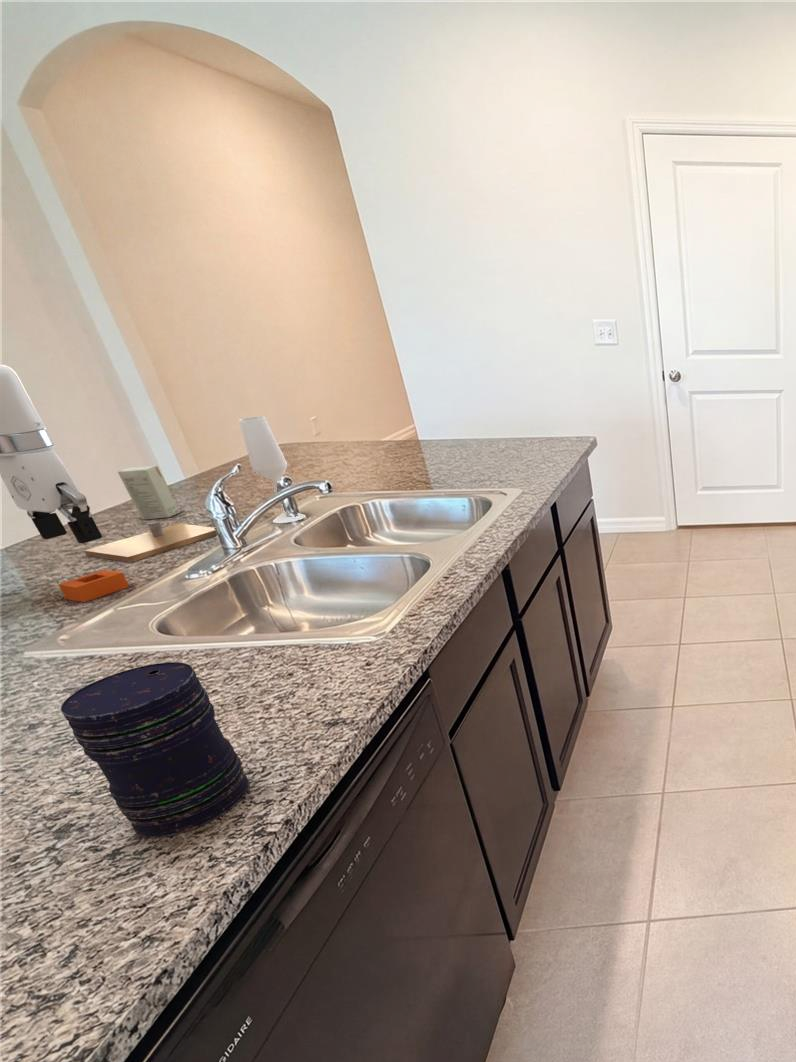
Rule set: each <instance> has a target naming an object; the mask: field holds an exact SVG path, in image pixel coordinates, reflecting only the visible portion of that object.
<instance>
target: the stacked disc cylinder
mask: <svg viewBox="0 0 796 1062" xmlns="http://www.w3.org/2000/svg"><path fill="white" fill-rule="evenodd" d="M60 705H61V706H60V712H61V714H62V715H63V717H64V719H65V720H66V721H68V725H69V727H70V728H71V730H72V735H73V737H74V738H75V739H76V741H77V743H78V744H79V746H81V747H82V748H83V753H84V755H85V756H86V757H88V758H89V760H91V761H92V762H95V763H96V764H97V765H98V767H99V769H100V770H101V771H102V774H103V775H104V777H105V779H106V780H107V782H108V783H109V785H108V791H109V793H110V794H111V797H112V800H114V801H115V805H116V806H117V807H118V810H119V812H121V814H122V815H123V816H125V817H126V819H127V820H128V821H129V822H130V823H131V827H132V829H133V830H134V832H135V834H137V835H138V836H142V837H144V838H155V839H156V838H165V837H170V836H171V837H172V836H176V835H179V834H182V833H183V834H184V833H186V832H189V831H192V830H194V829H197V828H199V827H201V826H204V825H206V824H209V823H210V822H212V821H215V820H216V819H218V818H219V817H221V816H223V815H224V814H226V813H228V812H229V811H230V810H232V809H233V808H235V806H237V805H238V804H239V803H240V802H241V801H242V799H243V798H244V797H245V796H246V795H247V793H248V791H249V789H250V781H249V779H248V776H247V775H246V774H245V771H244V769H243V766H242V761H241V760H240V757H239V756H238V753H236V751H235V750H234V746H233V745H232V742H231V741H230V740H229V739H228V738H225V736H224V734H223V733H222V731H221V728H220V727H219V724H218V722H217V720H216V717H215V716H216V713H215V707H214V704H213V703H212V702H211V701H210V697H209V695H208V693H207V691H206V689H205V687H204V686H203V685H202V682H200V679H198V677H197V673H196V671H195V669H194V667H193V666H192V665H191V664H188V663H185V662H179V661H178V662H177V661H176V662H175V661H167V662H159V663H151V664H147V665H141V666H137V667H133V668H129V669H125V670H123V671H120V672H116V673H114V674H111V675H108V676H106V677H103V678H101V679H98V680H95V681H93V682H91V683H89V684H87V685H86V686H83V687H82V688H80V689H78V690H76V691H75V692H74V693H72V694H71V695H69V696H68V697H66V699H65V700H64V701H63V702H62V704H60Z"/></svg>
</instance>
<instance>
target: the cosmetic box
mask: <svg viewBox="0 0 796 1062" xmlns="http://www.w3.org/2000/svg"><path fill="white" fill-rule="evenodd" d="M117 474H118V476H119V477H120V479H121V481H122V483H123V485H124V488H125V490H126V491H127V493H128V495H129V497H130V499H131V501H132V503H133V505H134V506H135V509H136V511H137V512H138V515H139V516H140V518H141V520H153V519H155V520H156V519H165V518H170V517H173V516H175V515H178V514H179V513H181V510H180V509H179V506H178V504H177V502H176V500H175V498H174V496H173V494H172V492H171V490H170V488H169V485H168V484H167V482H166V480H165V478H164V476H163V474H162V472H161V469H160V468H159V465H145V466H132V467H131V466H130V467H128V468H124V469H121V470H118V471H117Z"/></svg>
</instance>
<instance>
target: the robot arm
mask: <svg viewBox="0 0 796 1062" xmlns="http://www.w3.org/2000/svg"><path fill="white" fill-rule="evenodd" d="M56 448H57V446H56V444H55V442H54V440H53V439H52V437H51V435H50V433H49V430H48V429H47V428H46V426H45V423H44V422H43V420H42V418H41V416H40V415H39V413H38V410H37V409H36V407H35V405H34V403H33V401H32V400H31V398H30V396H29V394H28V392H27V390H26V387H24V385H23V382H22V381H21V379H20V377H19V375H18V374H17V372H16V371H15V370H14V369H13V368H11V367H10V366H9V365H5V364H1V363H0V477H1V479H2V481H3V482H4V485H5V487H6V489H7V491H8V493H9V494H10V496H11V499H12V501H13V502H14V504H15V505H16V507H17V508H18V509H21V510H24V511H26V514H27V516H28V517H29V518H31V521H32V523H33V525H34V526H35V528H36V529H37V531H38V533H39V535H40V537H41V538H42V539H43V540H50V539H54V538H57V537H61V536H65V535H67V534H68V531H67V529H66V528H65V527H64V524H63V523H62V521H61V519H60V517H59V516H58V514H57V512H56V509H57V510H58V511H59V512H60V514H61V515H62V516H64V517H65V518H66V519H67V520H68V521H67V525H68V527H69V529H70V531H71V532H72V534H73V537H74V538H75V539H76V541H77V543H79V544H86V543H90V542H94V541H97V540H100V539H102V538H103V535H102V533H101V531H100V529H99V528H98V526H97V524H96V521H95V520H94V518H93V514H92V512H91V507H90V506H89V505H88V501H87V497H86V495H85V494H84V493H81V491H80V489H79V488H78V486H77V484H76V482H75V481H74V479H73V477H72V475H71V474H70V472H69V470H68V469H67V467H66V466H65V464H64V463H63V461H62V460H61V458H60V457H59V456H58V454H57V452H56V451H55V450H54V449H56ZM70 510H71V511H70Z"/></svg>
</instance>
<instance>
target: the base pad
mask: <svg viewBox="0 0 796 1062" xmlns="http://www.w3.org/2000/svg"><path fill="white" fill-rule="evenodd" d="M147 527H148V528H149V530H150V531H147V532H144V533H139V534H137V535H133V536H129V537H125V538H122V539H119V540H115V541H112V542H109V543H105V544H102V545H99V546H95V547H91V548H88V549H84V550H83V552H84V555H86V557H93V558H98V559H99V558H100V559H104V560H105V559H107V560H113V561H119V562H127V563H133V562H136V561H140V560H142V559H143V560H144V559H146V558H149V557H153V556H156V555H159V554H162V553H165V552H168V551H171V550H174V549H178V548H180V547H181V548H182V547H184V546H187V545H190V544H194V543H197V542H199V541H200V542H201V541H203V540H206V539H209V538H212V537H215V536H218V535H217V533H216V531H215V529H214V528H215V527H211V526H204V525H197V524H186V523H180V522H179V523H174V524H172V525H168V526H164V527H163V526H162V524H161V522H160V521H159V520H154V521H149V522H147Z"/></svg>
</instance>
